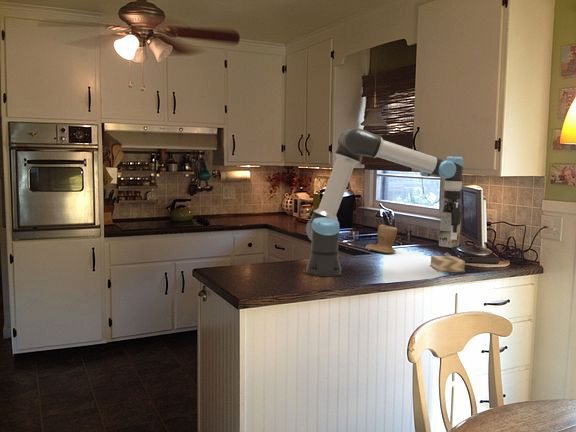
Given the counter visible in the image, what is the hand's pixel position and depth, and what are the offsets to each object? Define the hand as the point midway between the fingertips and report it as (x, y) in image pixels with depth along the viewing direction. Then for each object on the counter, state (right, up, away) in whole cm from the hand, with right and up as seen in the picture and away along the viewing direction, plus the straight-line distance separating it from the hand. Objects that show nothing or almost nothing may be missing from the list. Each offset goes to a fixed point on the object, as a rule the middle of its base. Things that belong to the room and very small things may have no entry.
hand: (449, 237), depth 257 cm
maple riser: (-1, -15, +2) cm, 15 cm away
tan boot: (-24, -10, +41) cm, 49 cm away
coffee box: (0, -4, 0) cm, 4 cm away
